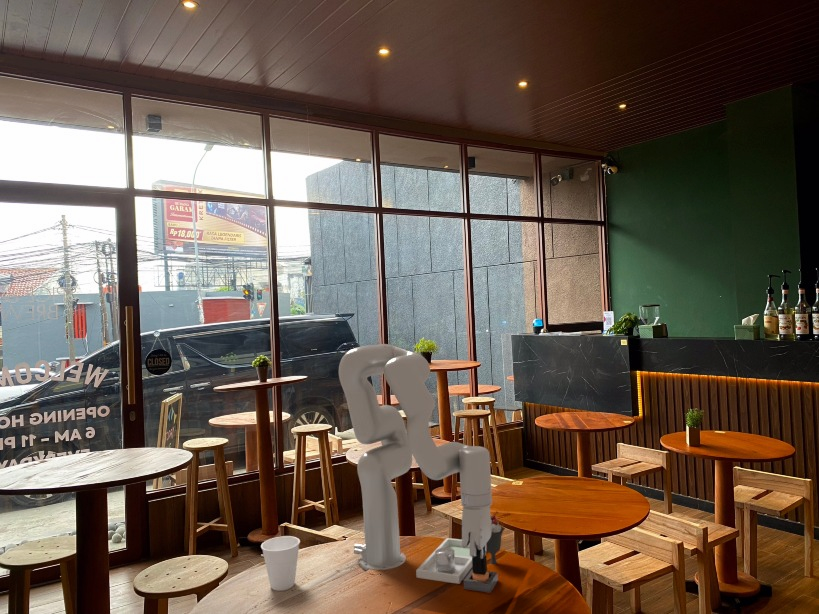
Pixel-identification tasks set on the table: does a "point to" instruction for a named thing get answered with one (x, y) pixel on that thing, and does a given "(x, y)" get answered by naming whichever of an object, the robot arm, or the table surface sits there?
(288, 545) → the cup
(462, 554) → the shallow white tray
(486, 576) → the button cap
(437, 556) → the cylinder
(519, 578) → the table surface
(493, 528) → the sundae
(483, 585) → the button housing
